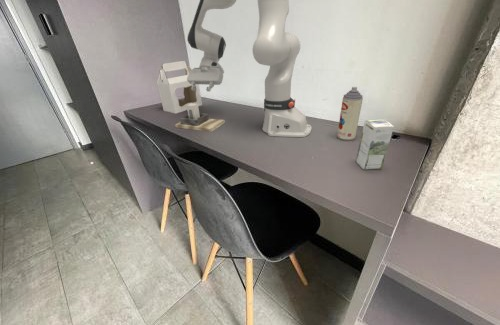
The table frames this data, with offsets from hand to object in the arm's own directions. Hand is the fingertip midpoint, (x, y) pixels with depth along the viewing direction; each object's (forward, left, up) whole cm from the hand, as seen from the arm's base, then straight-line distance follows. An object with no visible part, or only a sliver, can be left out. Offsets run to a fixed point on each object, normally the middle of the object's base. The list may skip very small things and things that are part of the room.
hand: (200, 90), depth 114 cm
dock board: (-3, +9, -16) cm, 18 cm away
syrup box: (-81, +26, -16) cm, 87 cm away
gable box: (+29, -17, -16) cm, 37 cm away
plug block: (0, +9, -14) cm, 16 cm away
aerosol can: (-73, +5, -16) cm, 75 cm away
